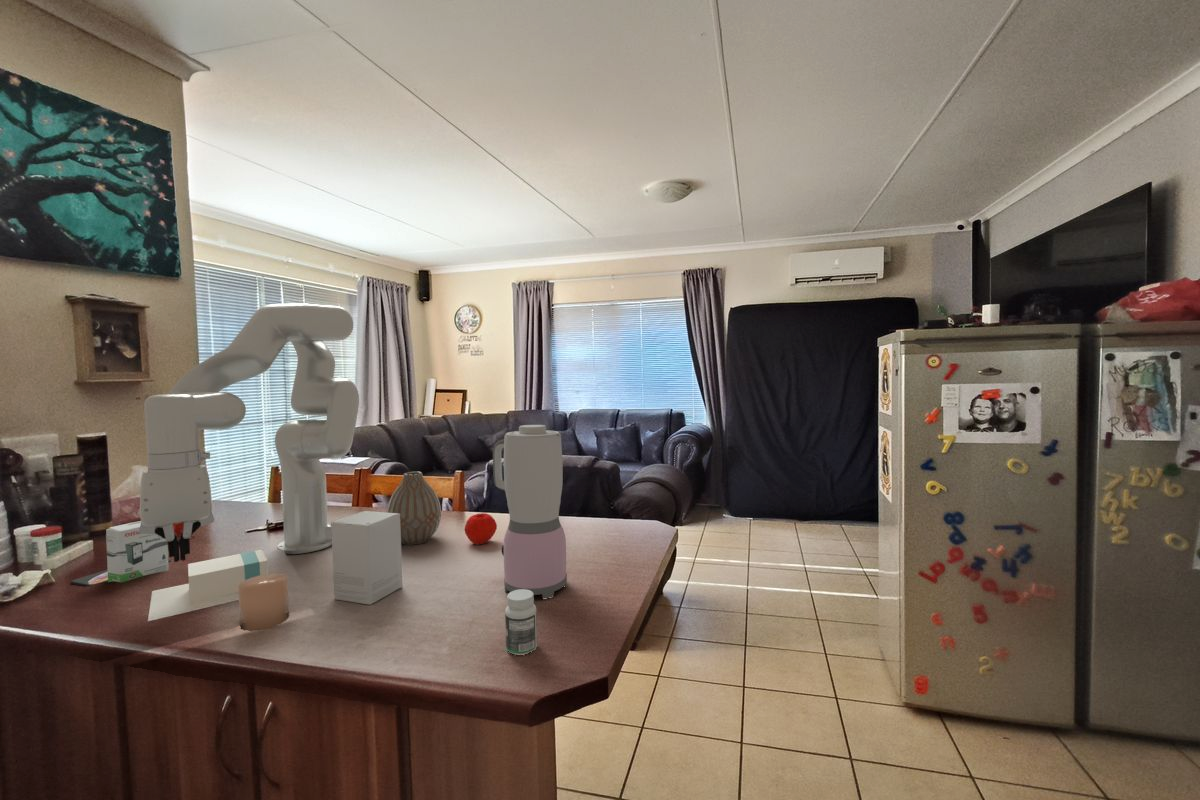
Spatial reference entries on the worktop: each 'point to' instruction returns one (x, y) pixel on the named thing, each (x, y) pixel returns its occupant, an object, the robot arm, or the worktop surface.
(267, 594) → the beige pillar candle
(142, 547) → the ink box
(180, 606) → the white flat sheet
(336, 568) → the supplement box
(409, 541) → the vase
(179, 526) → the pomegranate
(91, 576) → the smartphone
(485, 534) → the apple
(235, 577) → the carton
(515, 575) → the blender
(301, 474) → the robot arm
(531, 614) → the pill bottle
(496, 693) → the worktop surface
